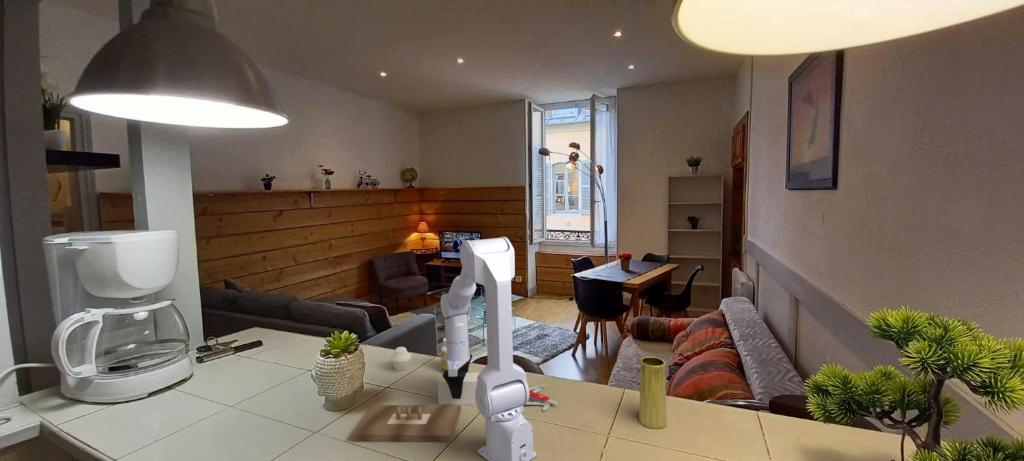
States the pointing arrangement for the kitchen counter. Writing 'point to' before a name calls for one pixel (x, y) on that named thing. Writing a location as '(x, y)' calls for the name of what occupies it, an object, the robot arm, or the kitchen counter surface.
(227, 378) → the kitchen counter surface
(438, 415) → the pin board
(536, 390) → the swiss army knife
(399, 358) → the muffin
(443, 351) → the supplement bottle
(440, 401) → the block
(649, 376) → the vase
